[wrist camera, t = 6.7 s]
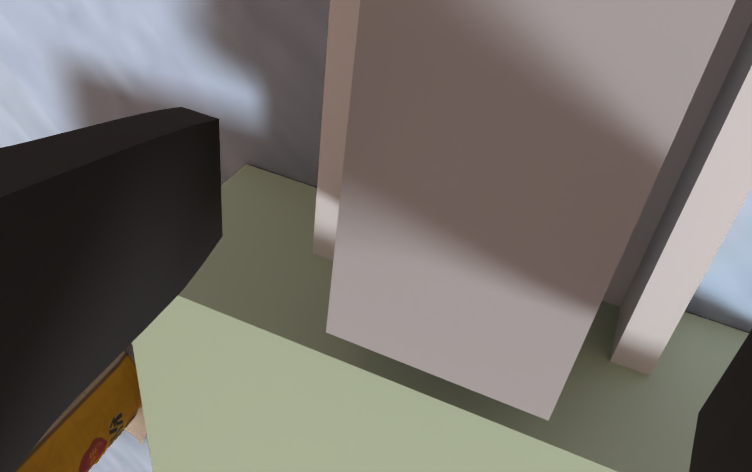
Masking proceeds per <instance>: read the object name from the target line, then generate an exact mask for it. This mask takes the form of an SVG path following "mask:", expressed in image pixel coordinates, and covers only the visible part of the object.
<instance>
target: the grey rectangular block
mask: <svg viewBox="0 0 752 472" xmlns="http://www.w3.org/2000/svg"><path fill="white" fill-rule="evenodd" d="M735 1H736V0H360V8H359V18H358V28H357V37H356V47H355V56H354V66H353V76H352V85H351V95H350V105H349V114H348V124H347V134H346V143H345V153H344V163H343V172H342V182H341V192H340V201H339V211H338V221H337V230H336V240H335V250H334V259H333V269H332V278H331V288H330V298H329V307H328V317H327V327H326V332H327V333H329V334H332V335H334V336H337V337H339V338H342V339H344V340H347V341H349V342H352V343H354V344H357V345H359V346H362V347H364V348H367V349H369V350H372V351H374V352H377V353H379V354H382V355H384V356H387V357H389V358H392V359H394V360H397V361H399V362H402V363H404V364H407V365H410V366H412V367H415V368H417V369H420V370H422V371H425V372H427V373H430V374H432V375H435V376H437V377H440V378H442V379H445V380H447V381H450V382H452V383H455V384H457V385H460V386H462V387H465V388H467V389H470V390H472V391H475V392H477V393H480V394H482V395H485V396H487V397H490V398H492V399H495V400H498V401H500V402H503V403H505V404H508V405H510V406H513V407H515V408H518V409H520V410H523V411H525V412H528V413H530V414H533V415H535V416H538V417H540V418H543V419H545V420H548V421H549V419H550V416H551V414H552V412H553V410H554V407H555V405H556V403H557V401H558V398H559V396H560V394H561V392H562V389H563V387H564V385H565V383H566V380H567V378H568V376H569V374H570V371H571V369H572V367H573V365H574V362H575V360H576V358H577V356H578V353H579V351H580V349H581V347H582V344H583V342H584V340H585V338H586V335H587V333H588V331H589V329H590V326H591V324H592V322H593V320H594V318H595V315H596V313H597V311H598V309H599V306H600V304H601V302H602V300H603V297H604V295H605V293H606V291H607V288H608V286H609V284H610V282H611V279H612V277H613V275H614V273H615V270H616V268H617V266H618V264H619V261H620V259H621V257H622V255H623V252H624V250H625V248H626V246H627V243H628V241H629V239H630V237H631V234H632V232H633V230H634V228H635V225H636V223H637V221H638V219H639V216H640V214H641V212H642V210H643V207H644V205H645V203H646V201H647V198H648V196H649V194H650V192H651V190H652V187H653V185H654V183H655V181H656V178H657V176H658V174H659V172H660V169H661V167H662V165H663V163H664V160H665V158H666V156H667V154H668V151H669V149H670V147H671V145H672V142H673V140H674V138H675V136H676V133H677V131H678V129H679V127H680V124H681V122H682V120H683V118H684V115H685V113H686V111H687V109H688V106H689V104H690V102H691V100H692V97H693V95H694V93H695V91H696V88H697V86H698V84H699V82H700V79H701V77H702V75H703V73H704V71H705V68H706V66H707V64H708V62H709V59H710V57H711V55H712V53H713V50H714V48H715V46H716V44H717V41H718V39H719V37H720V35H721V32H722V30H723V28H724V26H725V23H726V21H727V19H728V17H729V14H730V12H731V10H732V8H733V5H734V3H735Z"/></svg>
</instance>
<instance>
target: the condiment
mask: <svg viewBox="0 0 752 472" xmlns="http://www.w3.org/2000/svg"><path fill="white" fill-rule="evenodd" d="M124 429H125V430H127V431H128V432H130V433H131V434H132V435H133V436H135V437H136V438H137V439H138V440H139V441H140V443H141V444H143V442H144V440H145V437H146V434H147V433H146V426H145V420H144V414H143V407H142V401H141V395H140V389H139V382H138V376H137V370H136V364H135V357H134V351H133V345H132V343H131V344H130V345H129V346H128V347H127V348H126V349H125V350H124V351H123V352H122V353H121V354H120V355H119V356H118V357H117V358H116V359H115V360H114V361H113V362H112V363H111V364H110V365H109V366H108V367H107V368H106V369H105V370H104V371H103V372H102V373H101V374H100V375H99V376H98V377H97V378H96V379H95V380H94V381H93V382H92V383H91V384H90V385H89V386H88V387H87V388H86V389H85V390H84V391H83V392H82V393H81V394H80V395H79V396H78V397H77V398H76V399H75V400H74V401H73V403H72V404H71V405H70V406H69V407H68V408H67V409H66V410H65V411H64V412H63V413H62V415H61V416H60V417H59V418H58V419H57V420H56V421H55V422H54V423H53V424H52V426H51V427H50V428H49V429H48V430H47V432H46V433H45V434H44V435H43V437H42V438H41V439H40V440H39V442H38V443H37V444H36V445H35V446H34V448H33V449H32V450H31V451H30V453H29V454H28V455H27V456H26V458H25V459H24V460H23V461H22V463H21V464H20V465H19V466H18V468H17V469H16V470H15V471H14V472H88V471H89V470H90V468H91V467H92V466H93V465H94V464H96V463H97V462H98V461H99V459H100V458H101V456H102V455H103V454H104V453H105V451H106V449H107V448H108V447H109V446H110V445H111V444H112V443H113V442H114V441H115V440H116V439H117V438H118V436H119V435H120V434H121V433H122V431H123V430H124Z"/></svg>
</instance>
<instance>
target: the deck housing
mask: <svg viewBox="0 0 752 472" xmlns="http://www.w3.org/2000/svg"><path fill="white" fill-rule="evenodd" d="M359 8H360V0H330V7H329V21H328V36H327V50H326V65H325V79H324V94H323V108H322V122H321V137H320V151H319V166H318V180H317V188H316V187H313V186H310V185H307V184H304V183H301V182H298V181H295V180H292V179H289V178H286V177H283V176H280V175H277V174H274V173H271V172H268V171H265V170H262V169H259V168H256V167H253V166H250V165H247V164H245V165H244V166H243V167H242V168H240V169H239V170H238V171H237V172H236V173H235V174H234V175H232V176H231V177H230V178H229V179H228V180H227V181H226V182H224V183H223V184H222V185H221V202H222V232H223V236H222V238H221V239H220V241H219V242H218V244H217V245H216V246H215V248H214V249H213V251H212V252H211V253H210V255H209V256H208V258H207V259H206V261H205V262H204V263H203V265H202V266H201V267H200V269H199V270H198V271H197V273H196V274H195V275H194V277H193V278H192V279H191V280H190V282H189V283H188V284H187V286H186V287H185V288H184V289H183V290H182V291H181V293H180V294H179V295H178V296H177V297H176V298H175V299H174V300H173V301H172V302H171V303H170V304H169V305H168V306H167V307H166V308H165V309H164V310H163V311H162V312H161V313H160V314H159V315H158V316H157V317H156V318H155V320H154V321H153V322H152V323H151V324H150V325H149V326H148V327H147V328H146V329H145V330H144V331H143V332H142V333H141V334H140V335H139V336H138V337H137V338H136V339H135V340H134V341H133V342H132V345H133V351H134V357H135V364H136V370H137V376H138V382H139V389H140V395H141V401H142V407H143V414H144V420H145V426H146V433H147V439H148V445H149V451H150V458H151V464H152V470H153V472H689V469H690V462H691V454H692V448H693V442H694V436H695V430H696V424H697V418H698V413H699V411H700V410H701V408H702V407H703V405H704V403H705V402H706V400H707V399H708V397H709V396H710V394H711V392H712V391H713V389H714V388H715V386H716V385H717V383H718V382H719V380H720V378H721V377H722V375H723V374H724V372H725V371H726V369H727V367H728V366H729V364H730V363H731V361H732V360H733V358H734V357H735V355H736V353H737V352H738V350H739V349H740V347H741V346H742V344H743V342H744V341H745V339H746V338H747V336H748V335H749V333H747V332H744V331H741V330H738V329H735V328H732V327H729V326H726V325H723V324H720V323H717V322H714V321H711V320H708V319H705V318H702V317H699V316H696V315H693V314H690V313H687V312H685V310H686V308H687V306H688V304H689V302H690V300H691V299H692V297H693V295H694V293H695V291H696V289H697V288H698V286H699V284H700V282H701V280H702V278H703V277H704V275H705V273H706V271H707V269H708V267H709V266H710V264H711V262H712V260H713V258H714V256H715V254H716V253H717V251H718V249H719V247H720V245H721V243H722V242H723V240H724V238H725V236H726V234H727V232H728V231H729V229H730V227H731V225H732V223H733V221H734V220H735V218H736V216H737V214H738V212H739V210H740V208H741V207H742V205H743V203H744V201H745V199H746V197H747V196H748V194H749V192H750V190H751V188H752V0H736V1H735V3H734V5H733V8H732V10H731V12H730V14H729V17H728V19H727V21H726V23H725V26H724V28H723V30H722V32H721V35H720V37H719V39H718V41H717V44H716V46H715V48H714V50H713V53H712V55H711V57H710V59H709V62H708V64H707V66H706V68H705V71H704V73H703V75H702V77H701V79H700V82H699V84H698V86H697V88H696V91H695V93H694V95H693V97H692V100H691V102H690V104H689V106H688V109H687V111H686V113H685V115H684V118H683V120H682V122H681V124H680V127H679V129H678V131H677V133H676V136H675V138H674V140H673V142H672V145H671V147H670V149H669V151H668V154H667V156H666V158H665V160H664V163H663V165H662V167H661V169H660V172H659V174H658V176H657V178H656V181H655V183H654V185H653V187H652V190H651V192H650V194H649V196H648V198H647V201H646V203H645V205H644V207H643V210H642V212H641V214H640V216H639V219H638V221H637V223H636V225H635V228H634V230H633V232H632V234H631V237H630V239H629V241H628V243H627V246H626V248H625V250H624V252H623V255H622V257H621V259H620V261H619V264H618V266H617V268H616V270H615V273H614V275H613V277H612V279H611V282H610V284H609V286H608V288H607V291H606V293H605V295H604V297H603V300H602V302H601V304H600V306H599V309H598V311H597V313H596V315H595V318H594V320H593V322H592V324H591V326H590V329H589V331H588V333H587V335H586V338H585V340H584V342H583V344H582V347H581V349H580V351H579V353H578V356H577V358H576V360H575V362H574V365H573V367H572V369H571V371H570V374H569V376H568V378H567V380H566V383H565V385H564V387H563V389H562V392H561V394H560V396H559V398H558V401H557V403H556V405H555V407H554V410H553V412H552V414H551V416H550V419H549V421H548V420H545V419H543V418H540V417H538V416H535V415H533V414H530V413H528V412H525V411H523V410H520V409H518V408H515V407H513V406H510V405H508V404H505V403H503V402H500V401H498V400H495V399H492V398H490V397H487V396H485V395H482V394H480V393H477V392H475V391H472V390H470V389H467V388H465V387H462V386H460V385H457V384H455V383H452V382H450V381H447V380H445V379H442V378H440V377H437V376H435V375H432V374H430V373H427V372H425V371H422V370H420V369H417V368H415V367H412V366H410V365H407V364H404V363H402V362H399V361H397V360H394V359H392V358H389V357H387V356H384V355H382V354H379V353H377V352H374V351H372V350H369V349H367V348H364V347H362V346H359V345H357V344H354V343H352V342H349V341H347V340H344V339H342V338H339V337H337V336H334V335H332V334H329V333H327V332H326V327H327V317H328V307H329V298H330V288H331V278H332V269H333V259H334V250H335V240H336V230H337V221H338V211H339V201H340V192H341V182H342V172H343V163H344V153H345V143H346V134H347V124H348V114H349V105H350V95H351V85H352V76H353V66H354V56H355V47H356V37H357V28H358V18H359Z"/></svg>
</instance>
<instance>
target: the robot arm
mask: <svg viewBox="0 0 752 472" xmlns="http://www.w3.org/2000/svg"><path fill="white" fill-rule="evenodd" d="M222 236H223V232H222V202H221V171H220V140H219V119H217V118H214V117H211V116H208V115H205V114H201V113H198V112H195V111H192V110H189V109H186V108H183V107H178V108H171V109H164V110H158V111H153V112H148V113H144V114H139V115H135V116H130V117H126V118H122V119H118V120H113V121H109V122H105V123H101V124H97V125H93V126H89V127H85V128H81V129H77V130H73V131H69V132H65V133H61V134H57V135H53V136H49V137H45V138H41V139H37V140H33V141H29V142H25V143H21V144H17V145H12V146H8V147H3V148H0V472H14V471H15V470H16V469H17V468H18V466H19V465H20V464H21V463H22V461H23V460H24V459H25V458H26V456H27V455H28V454H29V453H30V451H31V450H32V449H33V448H34V446H35V445H36V444H37V443H38V442H39V440H40V439H41V438H42V437H43V435H44V434H45V433H46V432H47V430H48V429H49V428H50V427H51V426H52V424H53V423H54V422H55V421H56V420H57V419H58V418H59V417H60V416H61V415H62V413H63V412H64V411H65V410H66V409H67V408H68V407H69V406H70V405H71V404H72V403H73V401H74V400H75V399H76V398H77V397H78V396H79V395H80V394H81V393H82V392H83V391H84V390H85V389H86V388H87V387H88V386H89V385H90V384H91V383H92V382H93V381H94V380H95V379H96V378H97V377H98V376H99V375H100V374H101V373H102V372H103V371H104V370H105V369H106V368H107V367H108V366H109V365H110V364H111V363H112V362H113V361H114V360H115V359H116V358H117V357H118V356H119V355H120V354H121V353H122V352H123V351H124V350H125V349H126V348H127V347H128V346H129V345H130V344H131V343H132V342H133V341H134V340H135V339H136V338H137V337H138V336H139V335H140V334H141V333H142V332H143V331H144V330H145V329H146V328H147V327H148V326H149V325H150V324H151V323H152V322H153V321H154V320H155V318H156V317H157V316H158V315H159V314H160V313H161V312H162V311H163V310H164V309H165V308H166V307H167V306H168V305H169V304H170V303H171V302H172V301H173V300H174V299H175V298H176V297H177V296H178V295H179V294H180V293H181V291H182V290H183V289H184V288H185V287H186V286H187V284H188V283H189V282H190V280H191V279H192V278H193V277H194V275H195V274H196V273H197V271H198V270H199V269H200V267H201V266H202V265H203V263H204V262H205V261H206V259H207V258H208V256H209V255H210V253H211V252H212V251H213V249H214V248H215V246H216V245H217V244H218V242H219V241H220V239H221V238H222ZM689 472H752V330H751V332H750V333H749V335H748V336H747V338H746V339H745V341H744V342H743V344H742V346H741V347H740V349H739V350H738V352H737V353H736V355H735V357H734V358H733V360H732V361H731V363H730V364H729V366H728V367H727V369H726V371H725V372H724V374H723V375H722V377H721V378H720V380H719V382H718V383H717V385H716V386H715V388H714V389H713V391H712V392H711V394H710V396H709V397H708V399H707V400H706V402H705V403H704V405H703V407H702V408H701V410H700V411H699V413H698V418H697V424H696V430H695V436H694V442H693V448H692V454H691V462H690V469H689Z"/></svg>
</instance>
